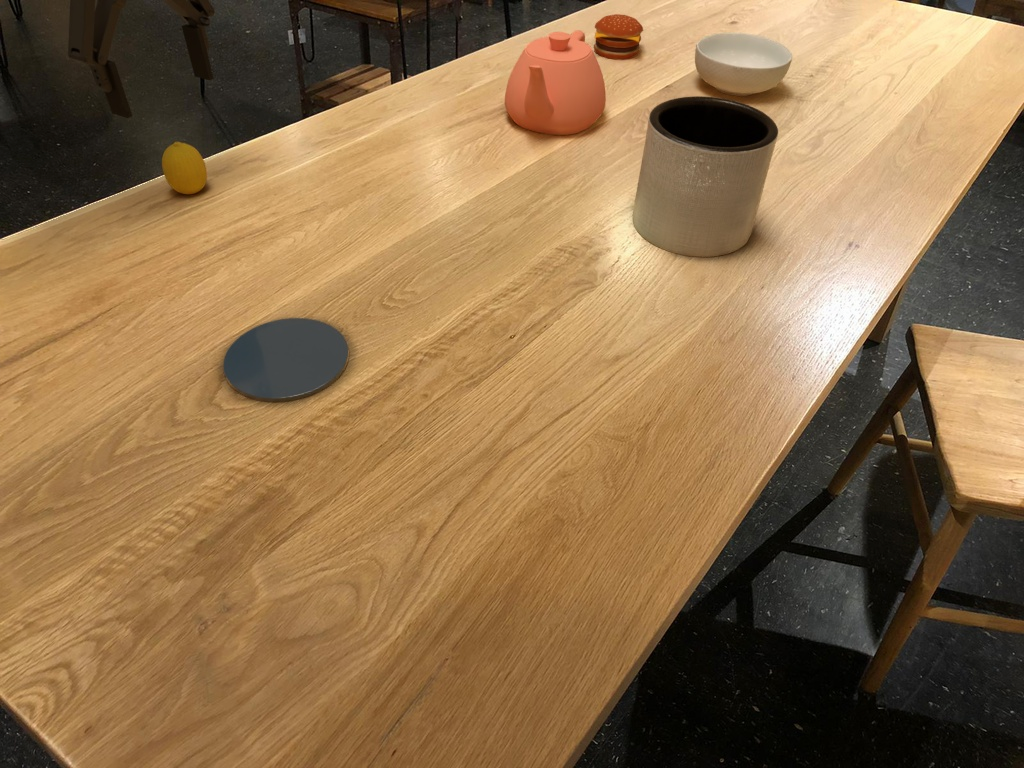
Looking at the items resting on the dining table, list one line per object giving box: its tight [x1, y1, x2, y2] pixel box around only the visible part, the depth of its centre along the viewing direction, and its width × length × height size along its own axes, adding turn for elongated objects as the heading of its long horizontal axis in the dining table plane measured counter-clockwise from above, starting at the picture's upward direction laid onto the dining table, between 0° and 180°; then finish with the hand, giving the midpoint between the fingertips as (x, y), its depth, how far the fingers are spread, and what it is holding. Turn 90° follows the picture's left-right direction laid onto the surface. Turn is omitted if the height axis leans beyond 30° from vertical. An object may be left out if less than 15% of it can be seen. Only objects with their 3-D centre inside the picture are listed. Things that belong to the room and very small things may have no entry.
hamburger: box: [593, 13, 644, 60], centre depth 151 cm, size 9×10×7 cm
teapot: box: [504, 29, 607, 136], centre depth 125 cm, size 25×17×13 cm
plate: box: [222, 317, 350, 403], centre depth 82 cm, size 13×13×2 cm
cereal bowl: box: [694, 32, 793, 97], centre depth 139 cm, size 17×17×7 cm
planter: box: [632, 95, 779, 258], centre depth 99 cm, size 16×16×16 cm
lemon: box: [161, 141, 208, 195], centre depth 105 cm, size 6×6×8 cm
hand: (165, 95), depth 98 cm, fingers open, 13 cm apart
